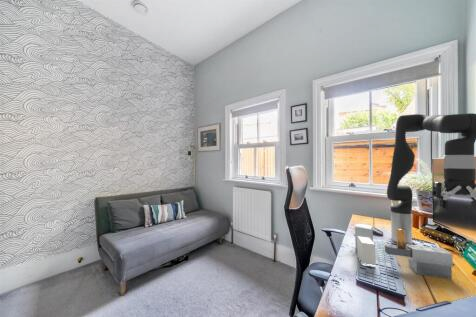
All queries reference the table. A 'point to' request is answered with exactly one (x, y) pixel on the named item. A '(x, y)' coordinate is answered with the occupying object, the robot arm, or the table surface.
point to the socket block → (366, 250)
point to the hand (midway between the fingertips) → (459, 210)
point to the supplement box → (363, 232)
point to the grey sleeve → (431, 261)
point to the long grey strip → (399, 246)
